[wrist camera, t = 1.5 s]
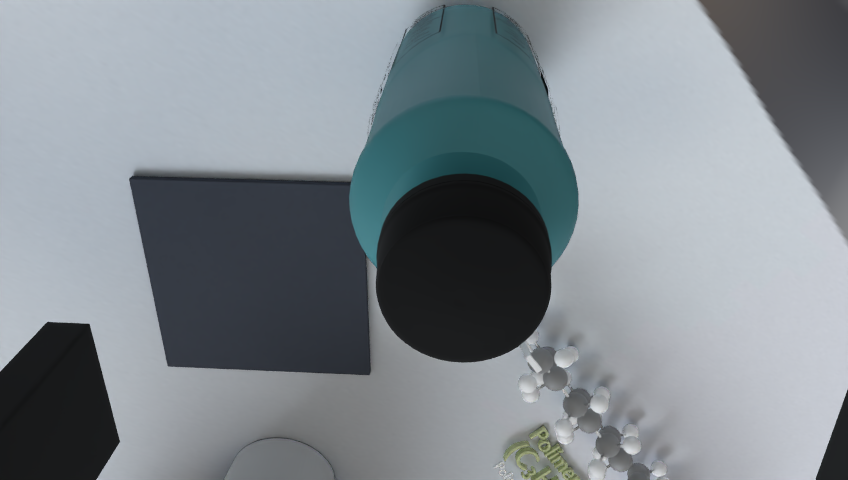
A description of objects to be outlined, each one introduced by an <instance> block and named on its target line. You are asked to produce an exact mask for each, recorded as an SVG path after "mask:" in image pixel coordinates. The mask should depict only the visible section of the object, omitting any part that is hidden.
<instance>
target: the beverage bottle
mask: <svg viewBox="0 0 848 480" xmlns="http://www.w3.org/2000/svg"><path fill="white" fill-rule="evenodd" d="M442 6H444V7H443V8H442V9H439V10H437V11H436V10H435V12H433V13H432V11H431V13H430V12H428V13H430V14H429V15H427V16H426V14H425V13H424V14H425V16H426V17H424V18H422V19H421V18H419V22H418V23H416V21H415V23H414V24H415V25H414V27H413V28H412V29H410V30H409V32H408V34H407V35H406V36H405V34H404V36H405V38H404V37H403V39H402V42H401V45H400V47H399V49H398V52H397V54H396V57H395V60H394V62H393V65H392V68H391V71H390V74H389V73H388V74H389V76H388V79H387V82H386V85H385V87H384V90H383V93H382V96H381V98H380V101H379V100H378V103H377V102H376V101H375V102H376V103H377V105H378V106H376V107H377V108H376V109H377V110H376V109H375V111H376V112H375V113H374V115H375V118H374V117H373V118H374V122H373V121H372V122H373V125H372V123H371V125H372V128H371V131H370V134H369V137H368V139H367V142H366V145H365V148H364V149H363V151H362V153H361V155H360V157H359V159H358V162H357V164H356V167H355V169H354V172H353V176H352V180H351V185H350V194H349V205H350V214H351V220H352V224H353V227H354V230H355V233H356V236H357V238H358V240H359V243H360V245H361V247H362V249H363V250H364V252H365V253H366V255H367V257H368V258H369V259H370V261H371V262H372V263H373V264H374V265H375V267H376V268H377V275H376V293H377V298H378V302H379V306H380V309H381V312H382V314H383V316H384V318H385V320H386V322H387V323H388V325H389V326H390V328H391V329H392V330H393V331H394V333H395V334H396V335H397V336H398V337H399V338H400V339H401V340H403V341H404V342H405V343H406V344H408V345H409V346H411V347H412V348H413V349H415V350H417V351H419V352H421V353H423V354H425V355H428V356H430V357H433V358H437V359H440V360H445V361H450V362H477V361H484V360H488V359H492V358H495V357H498V356H501V355H503V354H505V353H508V352H510V351H511V350H513V349H515V348H516V347H518V346H519V345H521V344H522V343H523V342H525V341H526V340H527V339H528V338H529V337H530V336H531V335H532V334H533V333H534V331H535V330H536V329H537V327H538V326H539V324H540V322H541V321H542V319H543V317H544V315H545V312H546V310H547V307H548V304H549V300H550V295H551V267H552V266H553V265H554V264H555V262H556V261H557V260H558V259H559V257H560V256H561V255H562V253H563V251H564V250H565V248H566V246H567V245H568V243H569V240H570V238H571V236H572V234H573V231H574V228H575V224H576V220H577V214H578V187H577V181H576V176H575V173H574V169H573V166H572V163H571V161H570V159H569V157H568V155H567V152H566V150H565V149H564V147H563V144H562V141H561V138H560V135H559V132H558V129H557V126H556V123H555V120H554V119H555V117H553V116H555V115H553V114H554V113H555V112H552V107H551V104H550V101H549V98H548V87H547V86H546V83H547V82H546V83H545V80H544V78H543V77H544V76H543V75H542V72H541V76H540V73H539V71H538V69H539V68H540V67H539V68H537V65H536V63H535V60H534V57H533V55H532V52H531V49H530V47H529V45H528V43H527V42H530V40H529V41H528V40H527V39H525V37H524V36H523V34H522V33H521V32H520V30H519V28H517V25H518V24H517V25H516V24H515V23H514V24H515V25H516V26H515V25H514V24H513V23H512V22H511V20H509V19H508V18H509V17H508V16H507V17H508V18H506V17H505V16H506V15H505V16H503V15H501V14H500V13H498V12H496V11H494V7H492V10H491V9H488V8H485V7H481V6H476V5H455V6H449V7H446V8H445V5H442ZM439 7H440V6H439ZM436 8H437V7H436ZM429 11H430V10H429ZM505 14H506V13H505ZM421 16H422V15H421ZM422 17H423V16H422ZM417 19H418V18H417ZM417 19H416V20H417ZM420 19H421V20H420ZM510 19H511V18H510ZM513 20H514V19H513ZM513 20H512V21H513ZM514 21H515V20H514ZM514 21H513V22H514ZM519 27H520V26H519ZM520 28H522V27H520ZM406 30H407V29H406ZM406 30H405V33H406ZM523 33H524V32H523ZM402 35H403V34H402ZM527 36H528V35H527ZM528 39H530V38H528ZM530 44H531V43H530ZM396 45H397V44H396ZM531 47H532V46H531ZM533 47H534V46H533ZM532 50H533V48H532ZM533 52H534V51H533ZM535 52H536V51H535ZM392 55H393V54H392ZM534 55H535V54H534ZM537 57H538V56H537ZM535 58H536V56H535ZM536 60H538V59H536ZM390 61H391V59H390ZM537 63H539V62H537ZM389 65H390V64H389ZM538 66H539V64H538ZM387 68H388V67H387ZM389 70H390V69H389ZM386 71H387V70H386ZM540 71H541V69H540ZM542 71H543V69H542ZM385 76H386V74H385ZM386 77H387V76H386ZM384 79H385V78H384ZM383 82H384V81H383ZM382 84H383V83H382ZM380 87H381V86H380ZM381 91H382V89H381ZM378 94H379V93H377V95H378ZM380 94H381V93H380ZM378 96H379V95H378ZM550 98H551V97H550ZM376 99H378V97H377V98H376ZM375 105H376V104H375ZM556 109H557V108H556ZM373 110H374V109H373ZM554 111H555V110H554ZM557 114H558V113H557ZM374 115H373V116H374ZM370 116H371V115H370ZM373 118H372V120H373ZM369 122H370V121H369ZM368 128H369V127H368ZM559 129H560V127H559Z"/></svg>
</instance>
